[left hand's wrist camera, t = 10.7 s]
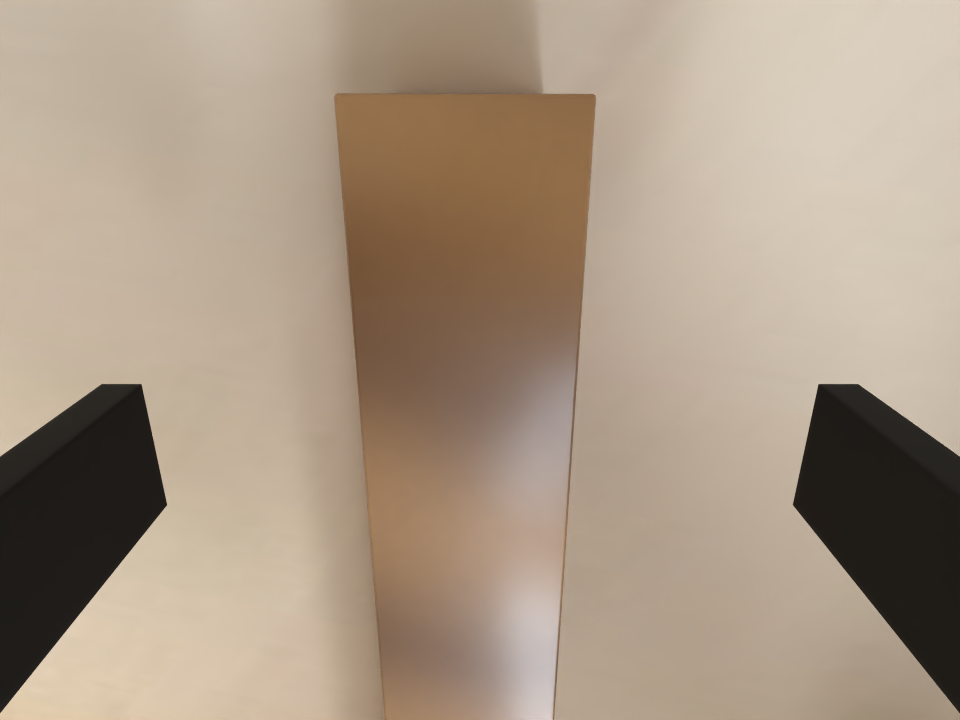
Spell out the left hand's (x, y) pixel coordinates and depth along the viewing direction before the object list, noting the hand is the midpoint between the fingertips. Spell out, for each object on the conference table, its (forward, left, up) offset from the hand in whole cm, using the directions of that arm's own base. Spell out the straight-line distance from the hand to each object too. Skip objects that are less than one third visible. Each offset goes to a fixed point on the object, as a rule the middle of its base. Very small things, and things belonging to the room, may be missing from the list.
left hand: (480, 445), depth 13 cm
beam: (+11, +32, -10) cm, 35 cm away
